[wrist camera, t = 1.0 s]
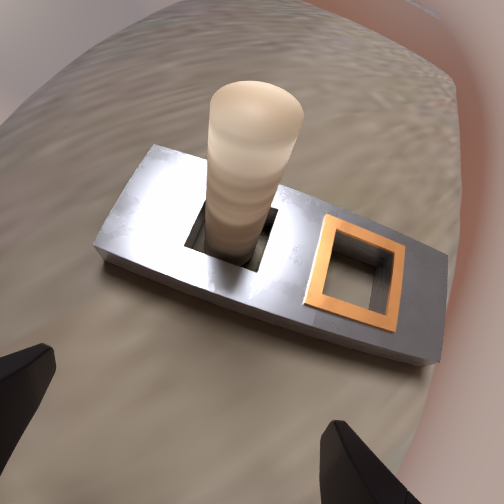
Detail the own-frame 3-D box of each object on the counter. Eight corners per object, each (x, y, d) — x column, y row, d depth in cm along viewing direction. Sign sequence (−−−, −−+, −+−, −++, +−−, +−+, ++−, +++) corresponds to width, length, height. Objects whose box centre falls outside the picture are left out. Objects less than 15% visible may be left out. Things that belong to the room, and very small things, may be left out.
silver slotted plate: (429, 266, 27) (449, 254, 24) (418, 366, 23) (442, 362, 20) (157, 166, 27) (153, 142, 24) (104, 260, 22) (91, 242, 20)
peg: (250, 271, 24) (302, 149, 11) (199, 262, 24) (200, 129, 11) (257, 227, 26) (304, 91, 13) (210, 218, 25) (221, 75, 13)
